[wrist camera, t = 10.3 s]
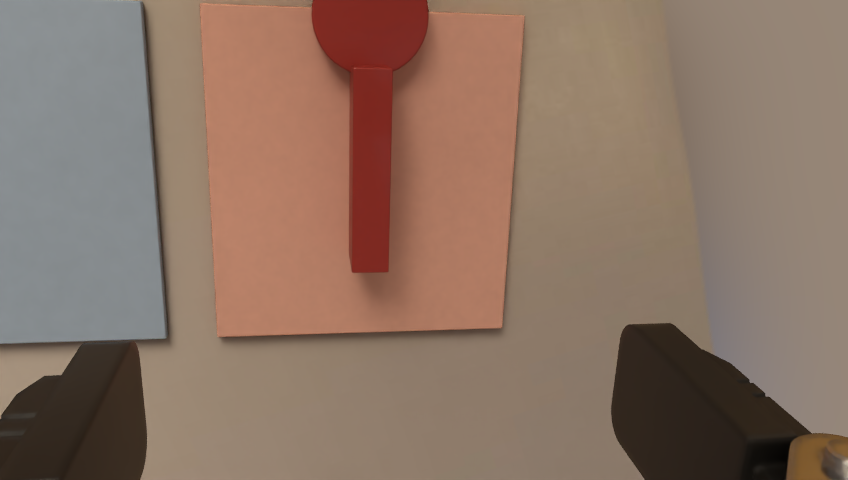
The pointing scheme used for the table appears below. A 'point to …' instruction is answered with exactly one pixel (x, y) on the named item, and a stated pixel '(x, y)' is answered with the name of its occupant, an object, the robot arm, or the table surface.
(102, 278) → the blue mat
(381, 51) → the red spoon
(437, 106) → the red mat
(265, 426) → the table surface
